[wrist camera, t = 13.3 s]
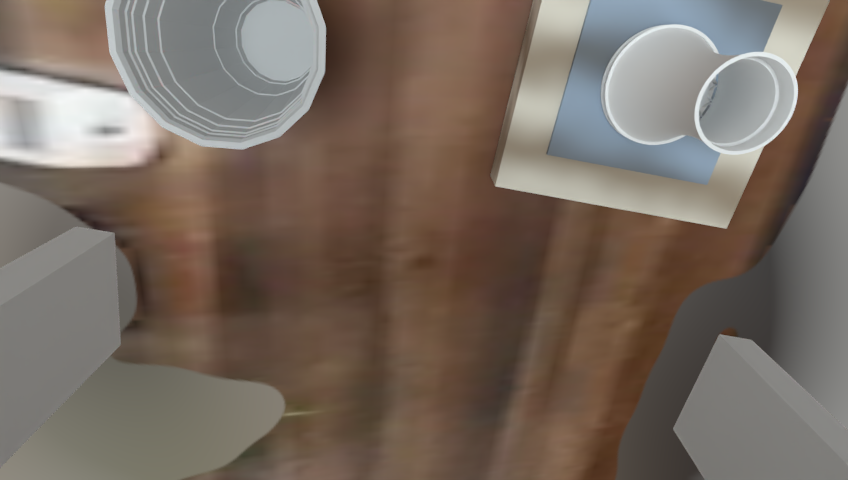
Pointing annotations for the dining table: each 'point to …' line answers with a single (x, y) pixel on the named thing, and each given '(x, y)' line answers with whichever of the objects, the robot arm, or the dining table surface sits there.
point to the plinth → (588, 126)
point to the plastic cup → (220, 64)
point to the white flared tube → (696, 91)
